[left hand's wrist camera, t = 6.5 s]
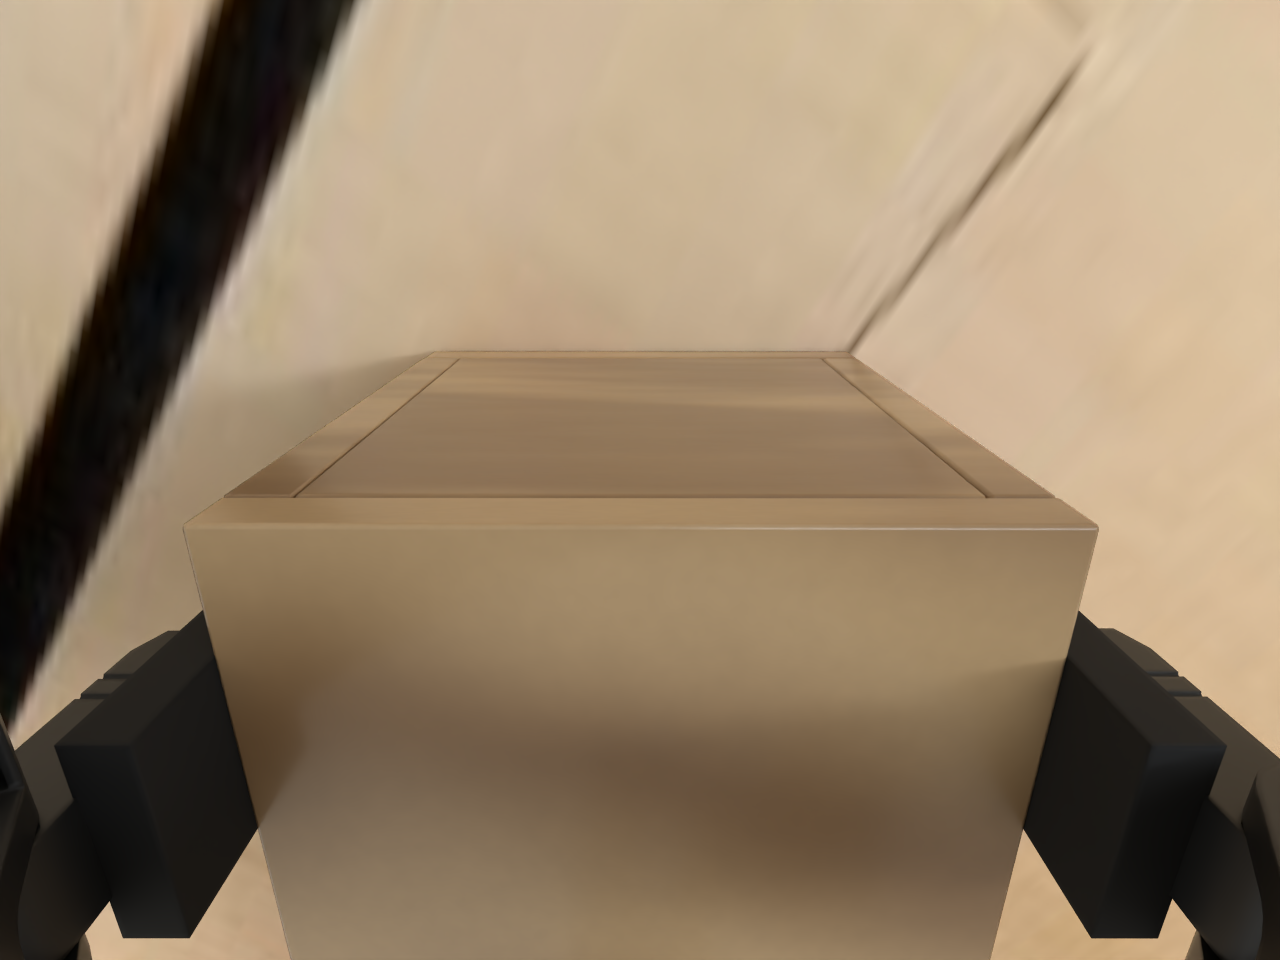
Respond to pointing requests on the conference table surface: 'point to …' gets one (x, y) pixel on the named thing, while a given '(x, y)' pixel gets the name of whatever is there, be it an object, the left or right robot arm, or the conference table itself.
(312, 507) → the cabinet
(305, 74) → the conference table surface
